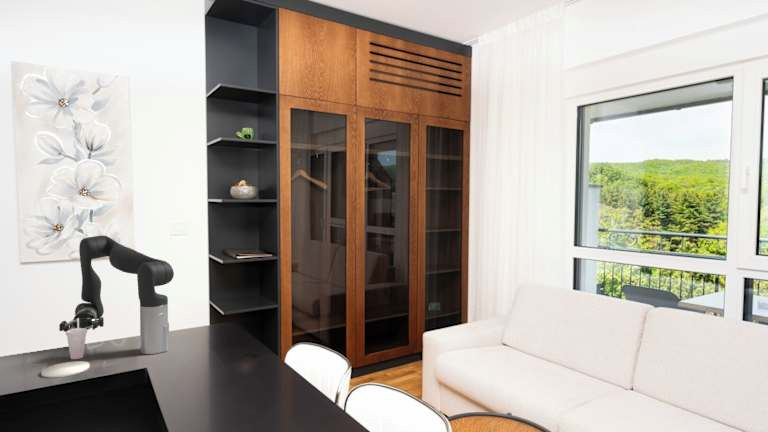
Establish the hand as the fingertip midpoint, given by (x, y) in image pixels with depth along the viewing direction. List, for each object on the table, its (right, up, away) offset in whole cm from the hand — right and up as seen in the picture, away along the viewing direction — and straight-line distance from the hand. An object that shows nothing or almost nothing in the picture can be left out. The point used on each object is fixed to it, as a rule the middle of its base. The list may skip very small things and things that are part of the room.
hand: (80, 328), depth 171 cm
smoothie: (+5, -8, -9) cm, 13 cm away
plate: (+10, -8, -22) cm, 26 cm away
